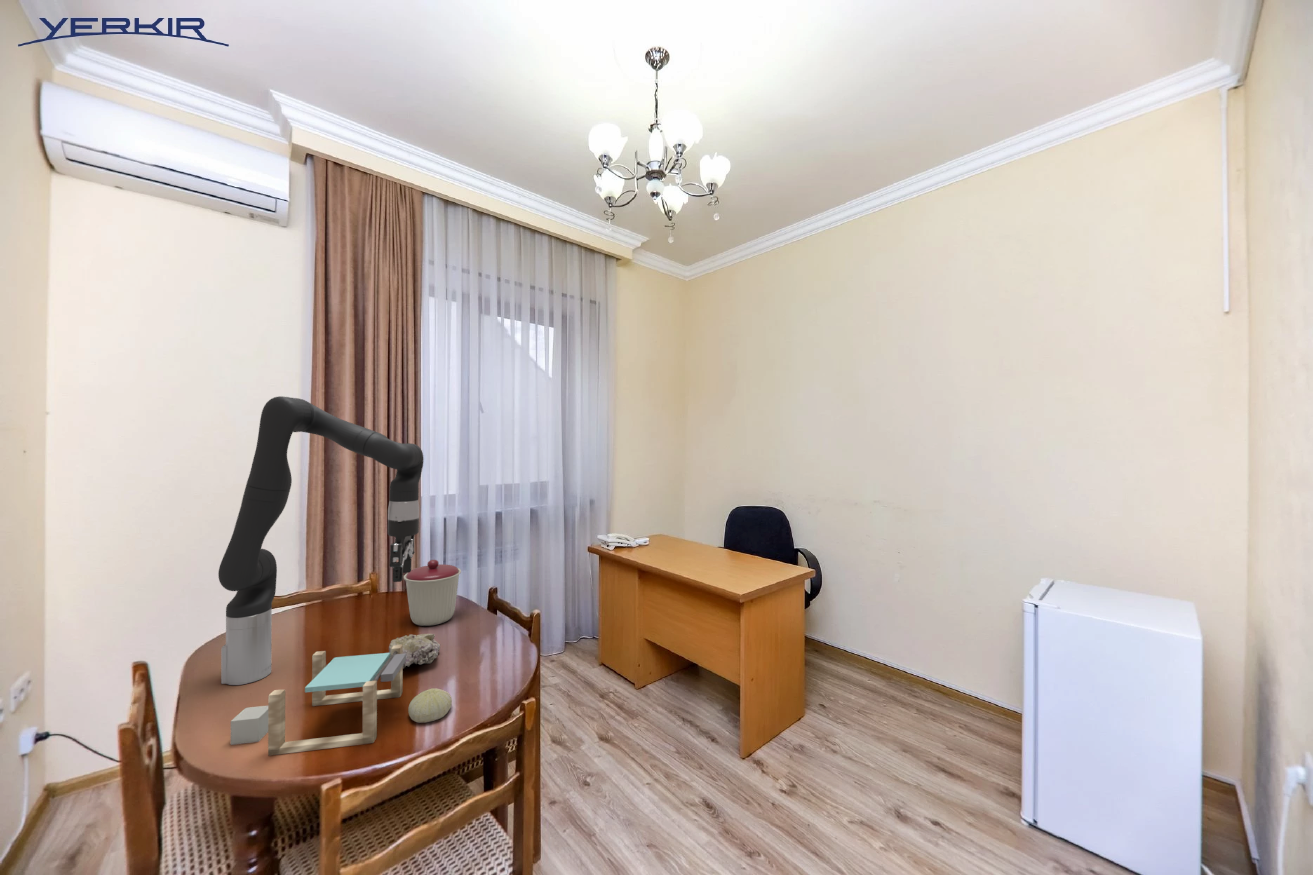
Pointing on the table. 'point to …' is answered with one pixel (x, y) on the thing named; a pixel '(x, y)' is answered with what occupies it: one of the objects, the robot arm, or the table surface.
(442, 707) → the sea urchin shell
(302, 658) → the table surface
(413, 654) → the geode
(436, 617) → the canister
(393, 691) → the frame
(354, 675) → the trapdoor
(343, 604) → the table surface
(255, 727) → the grey cube
